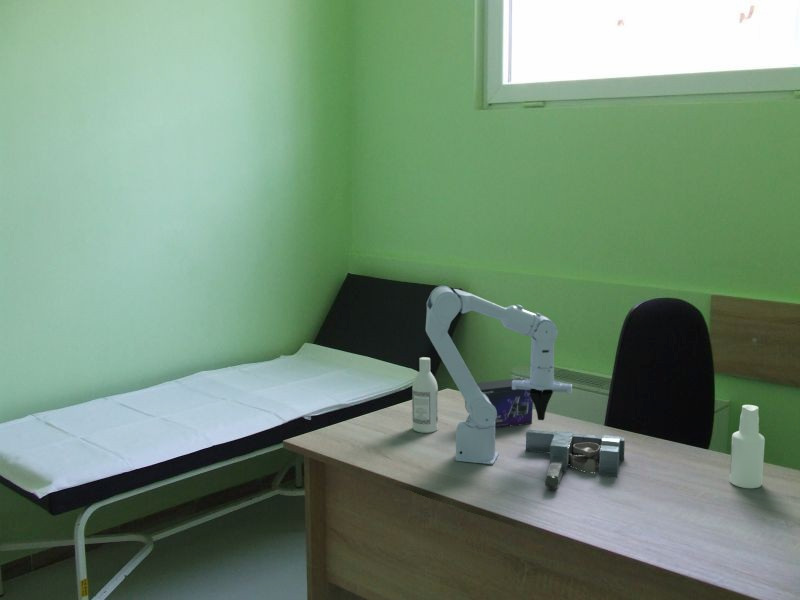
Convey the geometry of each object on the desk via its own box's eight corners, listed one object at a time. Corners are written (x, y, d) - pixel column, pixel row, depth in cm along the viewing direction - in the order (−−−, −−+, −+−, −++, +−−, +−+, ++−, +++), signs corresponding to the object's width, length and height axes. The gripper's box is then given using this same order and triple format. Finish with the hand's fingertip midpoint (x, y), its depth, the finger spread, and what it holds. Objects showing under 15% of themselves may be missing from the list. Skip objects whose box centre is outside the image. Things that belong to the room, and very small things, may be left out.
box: (478, 431, 224) (479, 389, 222) (468, 424, 230) (468, 383, 228) (533, 423, 230) (534, 382, 228) (521, 416, 236) (522, 376, 234)
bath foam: (427, 423, 231) (426, 354, 228) (443, 429, 226) (443, 358, 222) (407, 428, 227) (406, 357, 223) (423, 435, 222) (422, 362, 218)
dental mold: (609, 469, 196) (610, 449, 196) (587, 475, 193) (587, 454, 192) (587, 459, 203) (587, 439, 203) (565, 464, 200) (565, 444, 199)
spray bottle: (760, 479, 189) (765, 403, 186) (762, 490, 183) (768, 412, 180) (728, 475, 192) (733, 401, 188) (729, 487, 185) (734, 410, 182)
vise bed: (518, 466, 199) (518, 439, 198) (527, 448, 211) (527, 422, 210) (621, 476, 192) (622, 449, 190) (624, 457, 204) (625, 431, 203)
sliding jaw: (541, 491, 183) (542, 466, 182) (555, 453, 206) (555, 430, 205) (560, 493, 182) (561, 468, 181) (572, 455, 205) (572, 432, 204)
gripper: (509, 367, 200) (509, 421, 203) (570, 371, 196) (569, 426, 198) (514, 360, 207) (514, 412, 209) (573, 364, 203) (572, 417, 205)
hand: (541, 418), depth 204 cm, fingers closed
